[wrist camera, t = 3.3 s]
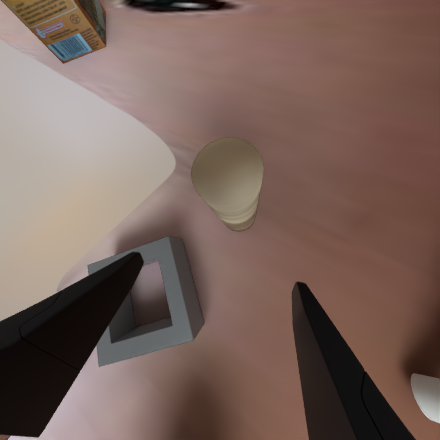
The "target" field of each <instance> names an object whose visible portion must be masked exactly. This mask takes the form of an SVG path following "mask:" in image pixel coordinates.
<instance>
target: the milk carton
mask: <svg viewBox="0 0 440 440" xmlns="http://www.w3.org/2000/svg"><path fill="white" fill-rule="evenodd" d="M1 1H2V2H3V3H4V4H5V5H6V6H7V7H8V8H9V9H10V10H11V11H12V12H13V13H14V14H15V15H16V16H17V17H18V18H19V19H20V20H21V21H22V22H23V23H24V24H25V25H26V26H27V27H28V28H29V29H30V30H31V31H32V32H33V33H34V34H35V35H36V36H37V37H38V38H39V39H40V40H41V41H42V43H43V44H44V45H45V46H46V47H47V48H48V49H49V50H50V51H51V52H52V53H53V54H54V55H55V56H56V57H57V58H58V59H59V60H60V61H61V62H62V63H63V64H64V63H66V62H69V61H71V60H74V59H76V58H79V57H81V56H84V55H87V54H89V53H92V52H94V51H97V50H99V49H102V48H104V47H106V12H105V10H104V9H103V7H102V5H101V4H100V2H99V0H1Z"/></svg>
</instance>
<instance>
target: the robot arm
mask: <svg viewBox="0 0 440 440" xmlns="http://www.w3.org/2000/svg"><path fill="white" fill-rule="evenodd" d="M143 264H144V260H143V258H142V256H141V253H140V252H135V251H133V252H131V253H129V254H127V255H125V256H124V257H122V258H120V259H118V260H116V261H114V262H113V263H111V264H109V265H107V266H105V267H103V268H102V269H100V270H98V271H96V272H94V273H92V274H91V275H89V276H87V277H85V278H83V279H81V280H80V281H78V282H76V283H74V284H72V285H70V286H69V287H67V288H65V289H63V290H61V291H59V292H58V293H56V294H54V295H52V296H50V297H48V298H46V299H45V300H43V301H41V302H39V303H37V304H35V305H33V306H31V307H29V308H27V309H25V310H23V311H21V312H19V313H17V314H15V315H13V316H10V317H8V318H6V319H4V320H2V321H0V440H8V438H9V437H10V436H24V437H39V436H40V435H41V433H42V432H43V431H44V429H45V427H46V426H47V424H48V423H49V421H50V419H51V418H52V416H53V415H54V413H55V411H56V410H57V408H58V406H59V405H60V403H61V402H62V400H63V398H64V397H65V395H66V394H67V392H68V390H69V389H70V387H71V385H72V384H73V382H74V381H75V379H76V377H77V376H78V374H79V373H80V370H81V369H82V368H83V366H84V364H85V363H86V361H87V359H88V358H89V356H90V355H91V353H92V351H93V350H94V348H95V347H96V345H97V343H98V342H99V340H100V338H101V337H102V335H103V334H104V332H105V330H106V329H107V327H108V326H109V324H110V322H111V321H112V319H113V318H114V316H115V314H116V313H117V311H118V309H119V308H120V306H121V305H122V303H123V301H124V300H125V298H126V297H127V295H128V293H129V292H130V290H131V288H132V286H133V285H134V283H135V281H136V279H137V277H138V275H139V273H140V271H141V269H142V267H143ZM292 317H293V331H294V338H295V345H296V352H297V359H298V366H299V373H300V380H301V387H302V394H303V401H304V408H305V415H306V422H307V429H308V436H309V440H416V439H415V438H414V437H413V436H412V434H411V433H410V432H409V430H408V429H407V428H406V426H405V425H404V424H403V422H402V421H401V420H400V418H399V417H398V416H397V414H396V413H395V412H394V410H393V409H392V408H391V406H390V405H389V404H388V402H387V401H386V399H385V398H384V397H383V395H382V394H381V392H380V391H379V390H378V388H377V387H376V385H375V384H374V382H373V381H372V379H371V378H370V377H369V375H368V374H367V372H365V371H364V368H363V366H362V365H361V363H360V362H359V361H358V359H357V358H356V356H355V355H354V353H353V352H352V350H351V349H350V347H349V346H348V345H347V343H346V342H345V340H344V339H343V337H342V336H341V334H340V333H339V331H338V330H337V328H336V327H335V326H334V324H333V323H332V321H331V320H330V318H329V317H328V315H327V314H326V312H325V311H324V309H323V308H322V307H321V305H320V304H319V302H318V301H317V299H316V298H315V296H314V295H313V293H312V292H311V291H310V289H309V288H308V286H307V285H306V284H305V283H303V282H296V283H295V285H294V288H293V290H292Z"/></svg>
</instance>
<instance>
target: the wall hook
mask: <svg viewBox="0 0 440 440" xmlns="http://www.w3.org/2000/svg"><path fill="white" fill-rule="evenodd" d="M411 387H412V391H413V394H414V397H415V399H416V401H417V403H418V405H419V407H420V409H421V410H422V412H423V413H424V414H425V415H426V416H427V417H428V418H429V419H430V420H432V421H435V422H438V423H440V379H439V378H434V377H430V376H425V375H421V374H416V373H414V374H412V376H411Z"/></svg>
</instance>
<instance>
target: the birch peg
mask: <svg viewBox="0 0 440 440" xmlns="http://www.w3.org/2000/svg"><path fill="white" fill-rule="evenodd" d="M263 171H264V165H263V160H262V157H261V155H260V153H259V152H258V150H257V149H256V148H255V147H254V146H253V145H252V144H250V143H249V142H247V141H245V140H243V139H239V138H222V139H218V140H215V141H213V142H211V143H210V144H208V145H207V146H205V147H204V148H203V149H202V150H201V151H200V152H199V153H198V155H197V156H196V158H195V160H194V162H193V166H192V171H191V177H192V183H193V185H194V188H195V189H196V191H197V192H198V194H199V195H200V196H201V197H202V198H203V199H204V201H205V202H206V203H207V204H208V205H209V206H210V207H211V209H212V210H213V211H214V212H215V213H216V214H217V215H218V217H219V218H220V219H221V220H222V221H223V222H224V223H225V225H226V226H227V227H228V228H230V229H231V230H234V231H244V230H246V229H248V228H249V227H251V226H252V224H253V223H254V220H255V216H256V211H257V205H258V200H259V194H260V189H261V183H262V178H263Z"/></svg>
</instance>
